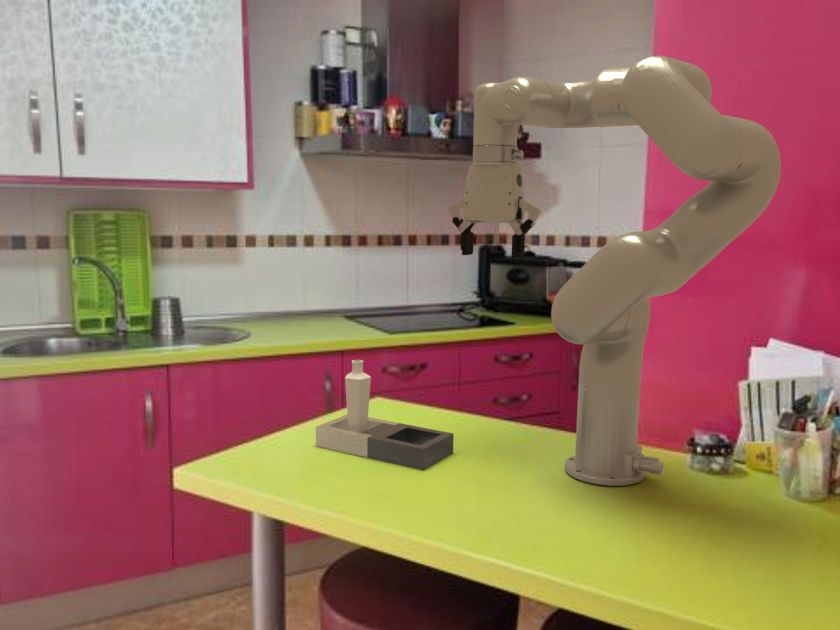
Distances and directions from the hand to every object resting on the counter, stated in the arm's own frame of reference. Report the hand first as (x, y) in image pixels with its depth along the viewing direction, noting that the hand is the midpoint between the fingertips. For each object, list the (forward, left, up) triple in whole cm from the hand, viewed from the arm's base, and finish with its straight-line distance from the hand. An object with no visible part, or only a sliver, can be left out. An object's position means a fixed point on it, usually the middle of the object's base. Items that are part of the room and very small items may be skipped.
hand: (491, 256), depth 136 cm
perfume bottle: (+18, +16, -34) cm, 41 cm away
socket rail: (+12, +16, -33) cm, 39 cm away
